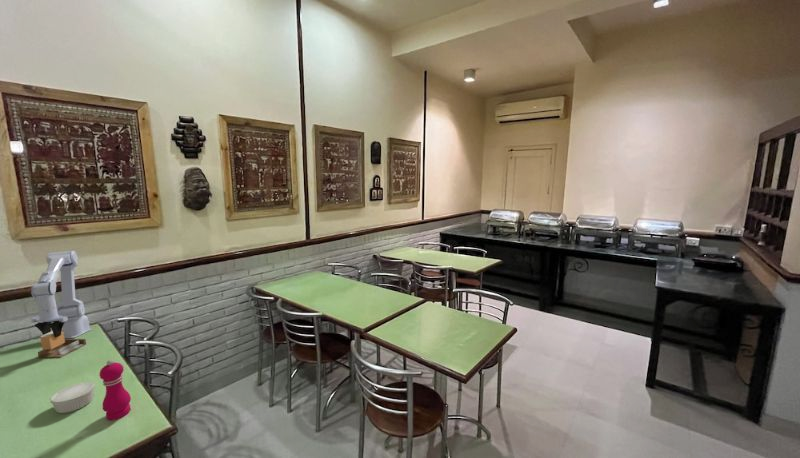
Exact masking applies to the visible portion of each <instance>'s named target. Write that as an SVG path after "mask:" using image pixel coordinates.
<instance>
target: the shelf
mask: <svg viewBox="0 0 800 458" xmlns="http://www.w3.org/2000/svg"><path fill="white" fill-rule="evenodd" d="M64 339H65V343H63V344H61V345H59V346H57V347H55V348H53V349H43V348H42V350H39V351H37V355H38V358H39V359H46V358H47V359H50V358H51V359H55V358H57V359H58V358H59V359H60V358H62V357H64V356H67V355H69V354H71V353H72V352H74V351H77V350H78V349H80V348H82V347H84V346H85V345H87V340H86V338H64Z"/></svg>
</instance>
